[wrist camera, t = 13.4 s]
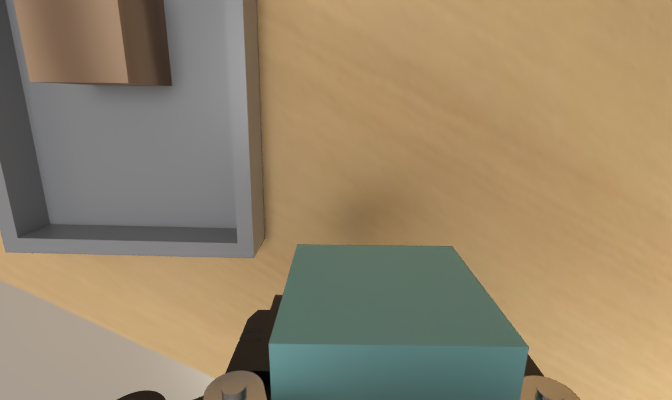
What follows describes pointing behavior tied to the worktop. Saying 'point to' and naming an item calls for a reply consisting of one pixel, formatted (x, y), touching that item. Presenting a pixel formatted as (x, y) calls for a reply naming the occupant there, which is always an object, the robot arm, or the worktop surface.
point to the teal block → (391, 328)
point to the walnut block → (95, 41)
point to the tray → (139, 147)
